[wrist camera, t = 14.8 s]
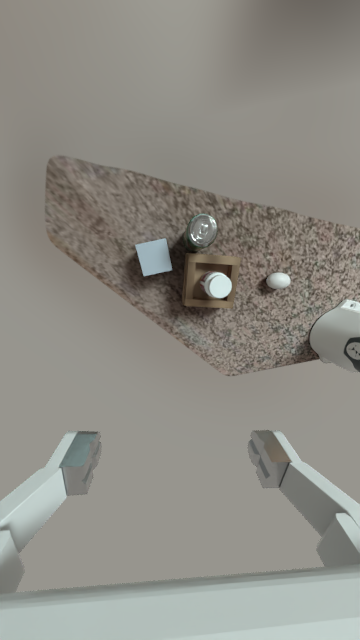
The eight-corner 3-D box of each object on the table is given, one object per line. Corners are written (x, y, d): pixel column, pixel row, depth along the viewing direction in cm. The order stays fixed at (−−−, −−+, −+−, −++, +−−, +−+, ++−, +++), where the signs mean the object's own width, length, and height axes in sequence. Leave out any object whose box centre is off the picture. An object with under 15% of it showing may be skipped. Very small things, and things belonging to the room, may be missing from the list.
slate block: (166, 242, 38) (165, 238, 33) (172, 269, 40) (172, 270, 35) (140, 247, 38) (135, 244, 33) (147, 274, 40) (143, 276, 35)
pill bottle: (219, 293, 38) (232, 300, 31) (198, 292, 38) (206, 300, 30) (221, 271, 37) (235, 273, 29) (200, 270, 37) (208, 272, 29)
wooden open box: (231, 257, 40) (242, 256, 34) (224, 303, 43) (233, 309, 37) (185, 253, 39) (187, 252, 33) (181, 300, 43) (183, 307, 36)
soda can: (208, 232, 38) (224, 219, 27) (199, 255, 40) (211, 251, 28) (187, 223, 37) (194, 205, 26) (179, 247, 39) (183, 240, 27)
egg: (282, 289, 43) (292, 291, 40) (260, 286, 43) (268, 288, 39) (287, 273, 42) (298, 274, 38) (264, 270, 42) (273, 271, 38)
